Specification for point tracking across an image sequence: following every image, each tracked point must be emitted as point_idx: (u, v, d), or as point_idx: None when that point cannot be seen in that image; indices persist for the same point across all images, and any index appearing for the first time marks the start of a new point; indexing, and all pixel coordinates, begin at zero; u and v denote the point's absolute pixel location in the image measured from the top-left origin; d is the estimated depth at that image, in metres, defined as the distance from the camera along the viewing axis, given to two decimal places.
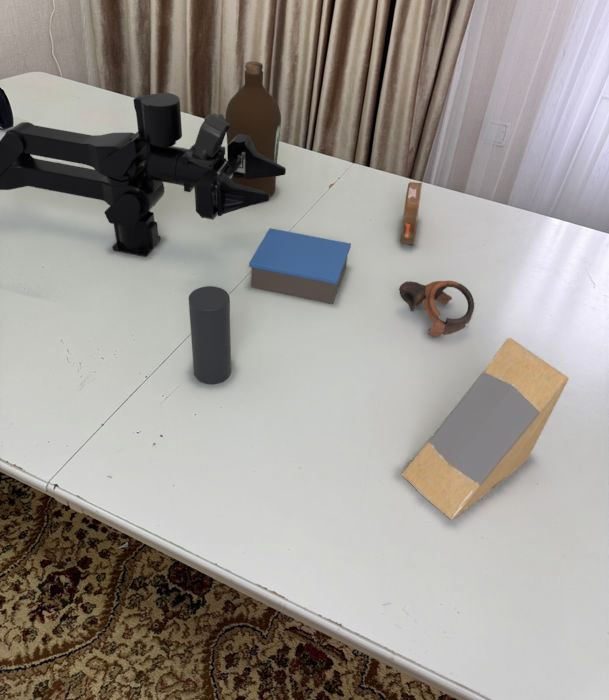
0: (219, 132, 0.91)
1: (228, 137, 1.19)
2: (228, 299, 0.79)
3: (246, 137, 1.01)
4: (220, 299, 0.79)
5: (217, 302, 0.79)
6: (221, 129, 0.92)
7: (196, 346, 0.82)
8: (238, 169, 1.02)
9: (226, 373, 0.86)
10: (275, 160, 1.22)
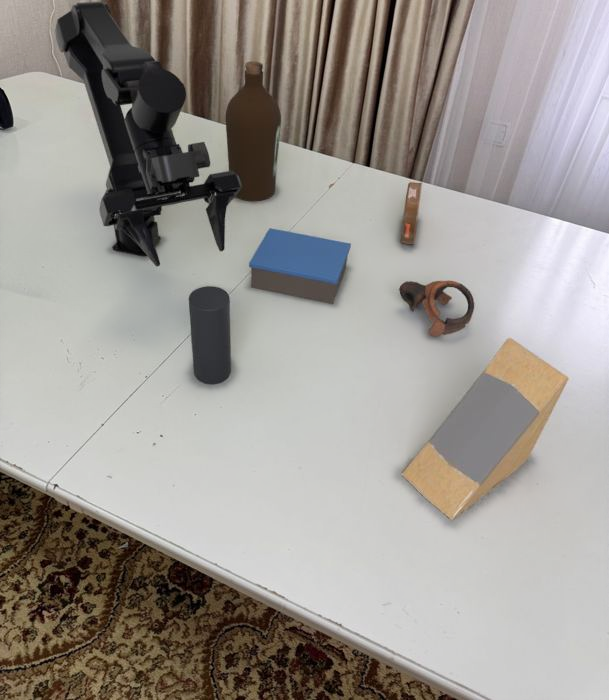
0: (168, 179, 0.77)
1: (228, 137, 1.19)
2: (228, 299, 0.79)
3: (233, 186, 0.84)
4: (220, 299, 0.79)
5: (217, 302, 0.79)
6: (174, 177, 0.77)
7: (196, 346, 0.82)
8: None
9: (226, 373, 0.86)
10: (275, 160, 1.22)
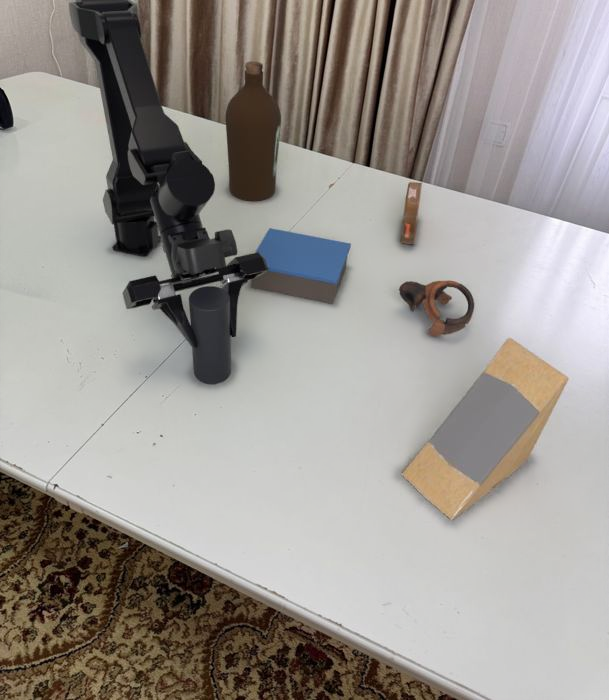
0: (194, 271, 0.75)
1: (228, 137, 1.19)
2: (228, 299, 0.79)
3: (259, 269, 0.83)
4: (220, 299, 0.79)
5: (217, 302, 0.79)
6: (201, 269, 0.75)
7: None
8: None
9: (226, 373, 0.86)
10: (275, 160, 1.22)
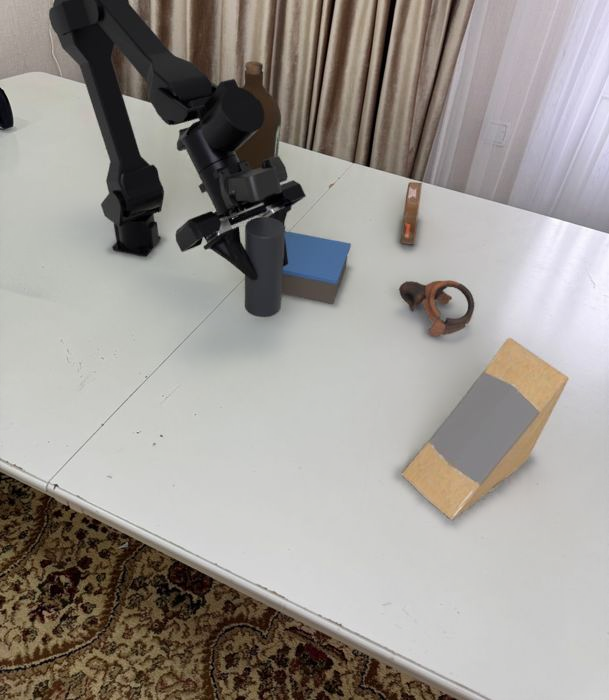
0: (257, 198, 0.76)
1: None
2: (283, 225, 0.81)
3: (299, 196, 0.85)
4: (276, 226, 0.81)
5: (275, 229, 0.80)
6: (263, 196, 0.76)
7: None
8: None
9: (279, 303, 0.88)
10: None
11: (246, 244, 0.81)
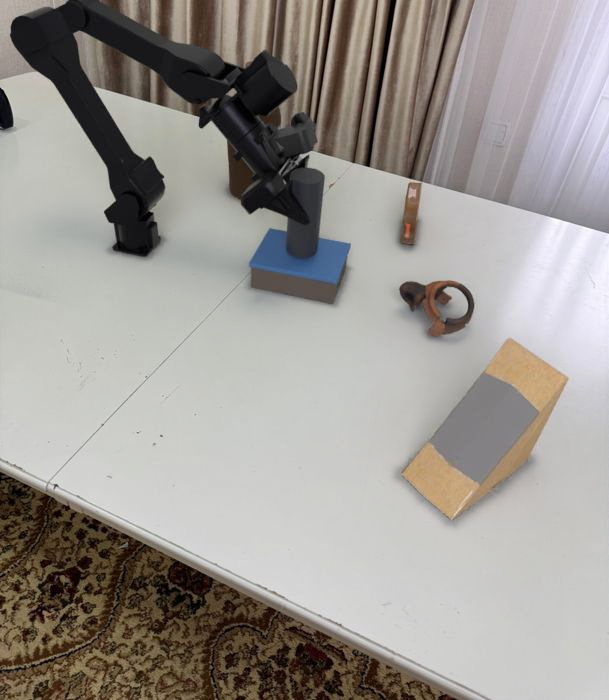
0: (310, 149, 0.88)
1: None
2: None
3: None
4: (315, 172, 0.94)
5: (317, 175, 0.93)
6: (312, 146, 0.89)
7: None
8: None
9: None
10: None
11: (296, 194, 0.93)
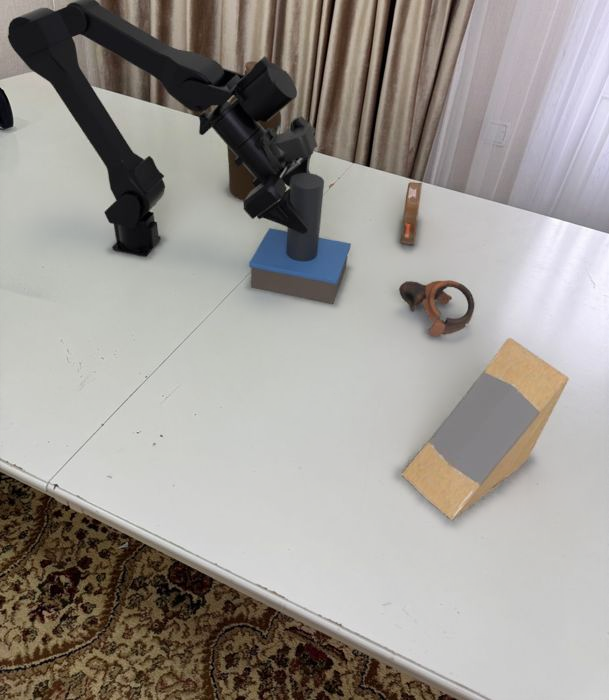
0: (310, 153, 0.90)
1: None
2: None
3: None
4: (314, 177, 0.95)
5: (316, 180, 0.95)
6: (312, 150, 0.90)
7: None
8: None
9: None
10: None
11: (296, 199, 0.94)
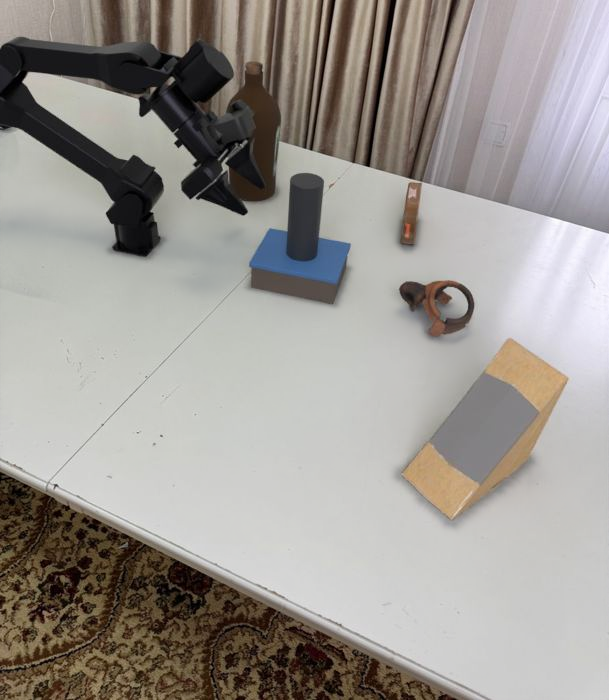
0: (247, 135, 0.91)
1: None
2: None
3: (252, 133, 1.01)
4: (314, 177, 0.95)
5: (316, 180, 0.95)
6: (249, 132, 0.91)
7: (306, 227, 0.97)
8: None
9: None
10: (275, 160, 1.22)
11: (296, 199, 0.94)
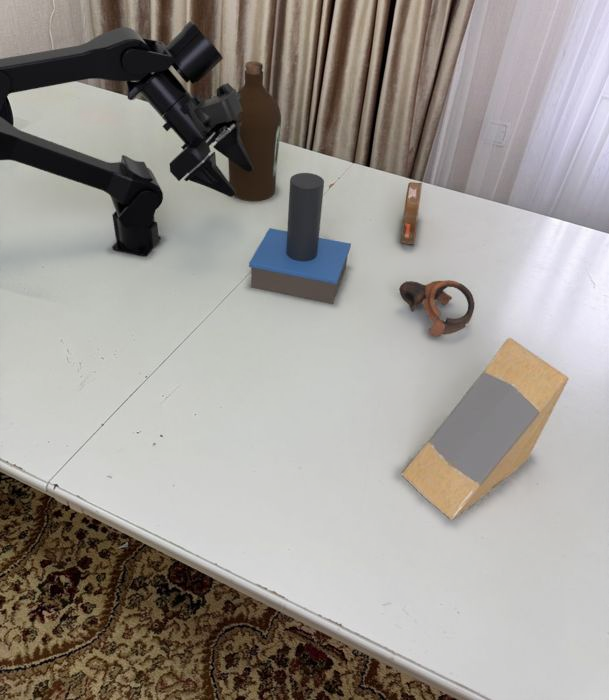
0: (233, 117, 0.93)
1: None
2: None
3: (239, 117, 1.03)
4: (314, 177, 0.95)
5: (316, 180, 0.95)
6: (236, 114, 0.94)
7: (306, 227, 0.97)
8: None
9: None
10: (275, 160, 1.22)
11: (296, 199, 0.94)
